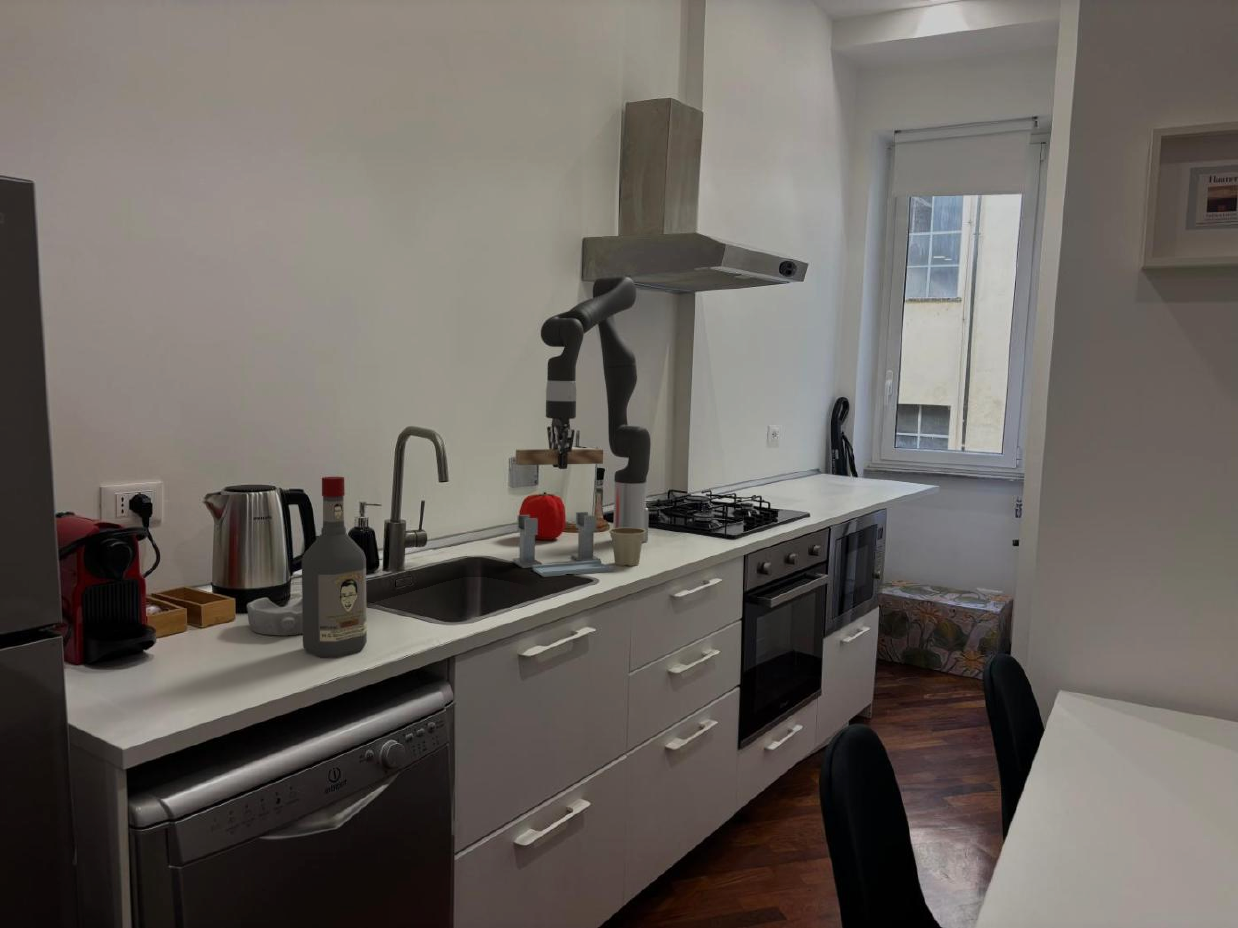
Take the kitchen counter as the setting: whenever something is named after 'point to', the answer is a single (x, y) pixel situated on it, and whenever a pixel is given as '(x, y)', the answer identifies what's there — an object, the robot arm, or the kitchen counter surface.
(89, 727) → the kitchen counter surface
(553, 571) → the mat
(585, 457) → the rail
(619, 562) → the flower pot
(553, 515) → the tomato
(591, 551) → the rack
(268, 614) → the dish
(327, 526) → the liquor
